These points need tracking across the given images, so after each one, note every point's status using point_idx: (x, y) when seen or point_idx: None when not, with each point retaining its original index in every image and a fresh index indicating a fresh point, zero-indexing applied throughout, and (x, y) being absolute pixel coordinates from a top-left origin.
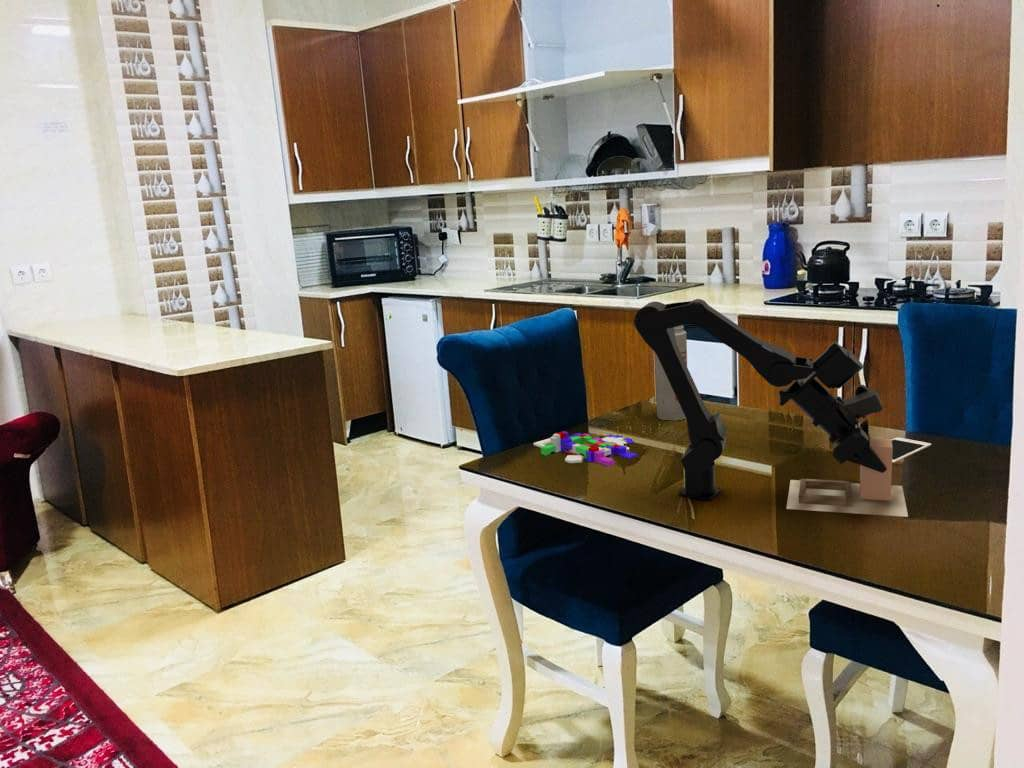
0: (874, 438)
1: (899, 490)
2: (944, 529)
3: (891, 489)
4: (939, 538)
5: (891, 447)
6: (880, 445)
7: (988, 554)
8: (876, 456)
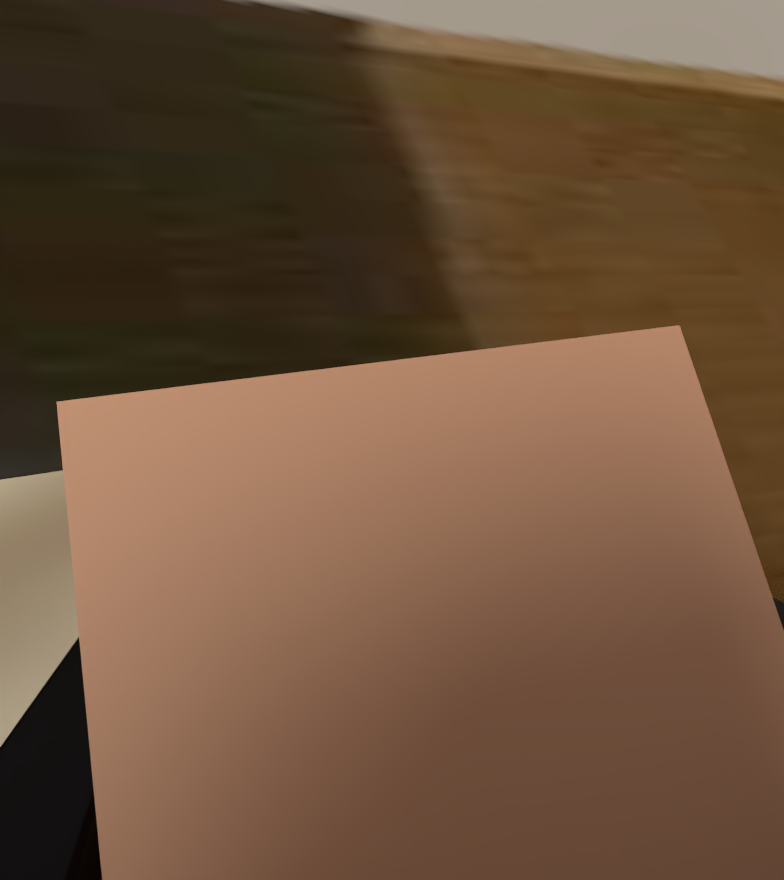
0: (138, 834)
1: (59, 497)
2: (557, 236)
3: (53, 560)
4: (675, 259)
5: (678, 347)
6: (669, 562)
7: (734, 92)
8: (780, 604)
